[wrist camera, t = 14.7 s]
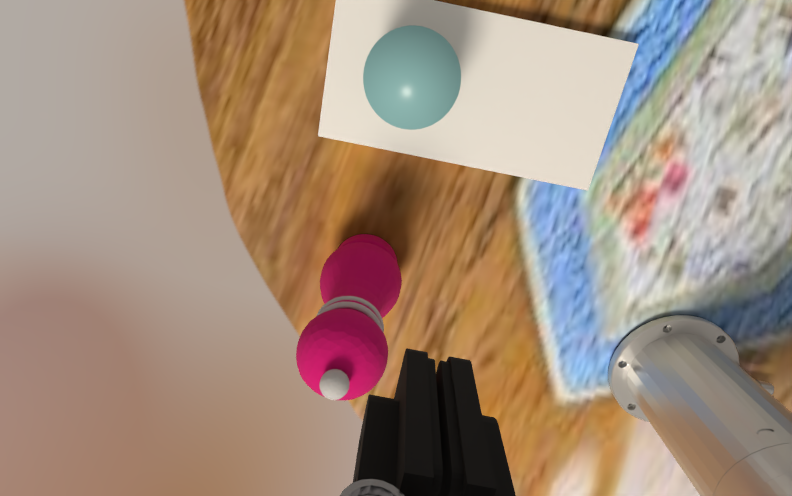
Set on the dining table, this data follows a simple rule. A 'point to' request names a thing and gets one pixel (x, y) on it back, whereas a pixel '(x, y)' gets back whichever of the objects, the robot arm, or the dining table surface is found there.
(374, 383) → the pepper mill
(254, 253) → the dining table surface
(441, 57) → the cap
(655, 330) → the robot arm
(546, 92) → the board
